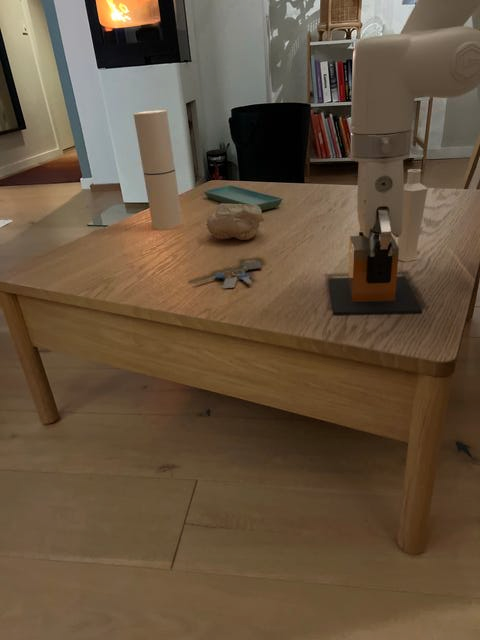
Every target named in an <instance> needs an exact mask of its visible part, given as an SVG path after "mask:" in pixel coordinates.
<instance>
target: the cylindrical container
mask: <svg viewBox="0 0 480 640" xmlns="http://www.w3.org/2000/svg"><path fill="white" fill-rule="evenodd" d="M168 116H169V115H168V110H167V109H161V110H160V109H158V110H148V111H139V112H134V113H133V119H134V126H135V132H136V136H137V142H138V148H139V155H140V160H141V161H140V162H141V166H142V167H141V168H142V173H143V178H144V184H145V189H146V196H147V201H148V202H147V203H148V206H149V213H150V218H151V225H152V228H153V230H158V231H168V230H173V229H177V228H180V227H182V226H183V218H182V209H181V203H180V196H179V188H178V181H177V174H176V166H175V158H174V153H173V152H174V151H173V145H172V139H171V130H170V123H169V118H168Z"/></svg>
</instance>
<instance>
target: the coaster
mask: <svg viewBox="0 0 480 640" xmlns="http://www.w3.org/2000/svg"><path fill="white" fill-rule="evenodd" d="M348 280H349V277H329V278H328V285H329V286H328V287H329V292H330V300H331V307H332V315H333V316H346V315H347V316H349V315H350V316H353V315H390V314H391V315H400V314H401V315H403V314H406V315H407V314H423V309H422V307H421V305H420V302H419V300H418V299H417V296H416V295H415V293H414V291H413V289H412V287H411V285H410V283H409V281H408V278H407V277H406V275H397V280H396V292H395V301H373V302H352V299H351V294H350V290H349V286H348Z"/></svg>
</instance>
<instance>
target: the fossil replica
mask: <svg viewBox="0 0 480 640" xmlns="http://www.w3.org/2000/svg"><path fill="white" fill-rule="evenodd" d="M264 221H265V217H264V216H263V211H261V208H260V207H259V206H257V205H246V204H226V203H219V205H218V206H217V208H216V210H215V212H214V213H212V214H210V215H209V217H207V220H206V226H207V227H206V229H207V230H208V232H209V234H211V236H212V237H214V238H215V239H219V240H221V241H222V240H229V239H232V238H235V239H237V240H240V241H244V240H245V241H247V240H250V239H252V238H253V237H255V236H256V234H257V232H258V229H260V223H261V222H264Z"/></svg>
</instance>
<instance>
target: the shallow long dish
mask: <svg viewBox="0 0 480 640" xmlns="http://www.w3.org/2000/svg"><path fill="white" fill-rule="evenodd" d="M203 193H204V194H205V196H206V197H207V199H210V200H214V201H216V202H220V203H221V204H246V205H257V206H259V207H260V208H261V211H262V212H263V211H266V210H271V209H275V208H278V207H279V206H280V205H281V203H282V201H283V199H284V198H283V197H279V196H275V195H272V194H267V193H262V192H259V191H255V190H252V189H247V188H244V187H240V186H237V185H232V184H228V185H224V186H219V187H213V188H210V189H205V190H203Z"/></svg>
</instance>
